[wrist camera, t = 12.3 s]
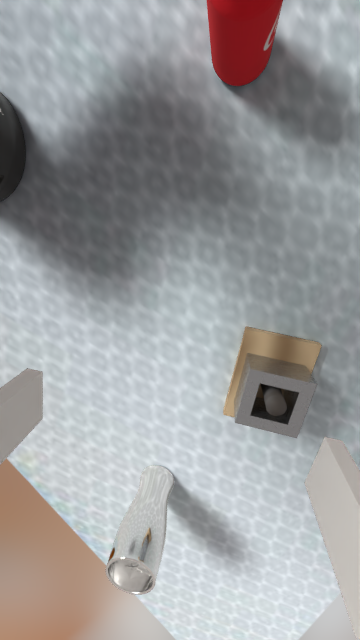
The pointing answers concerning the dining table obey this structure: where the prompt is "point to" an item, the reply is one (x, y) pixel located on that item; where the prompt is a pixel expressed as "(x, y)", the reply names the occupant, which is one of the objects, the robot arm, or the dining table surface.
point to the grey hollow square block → (277, 375)
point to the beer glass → (142, 534)
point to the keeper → (277, 349)
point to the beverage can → (242, 37)
